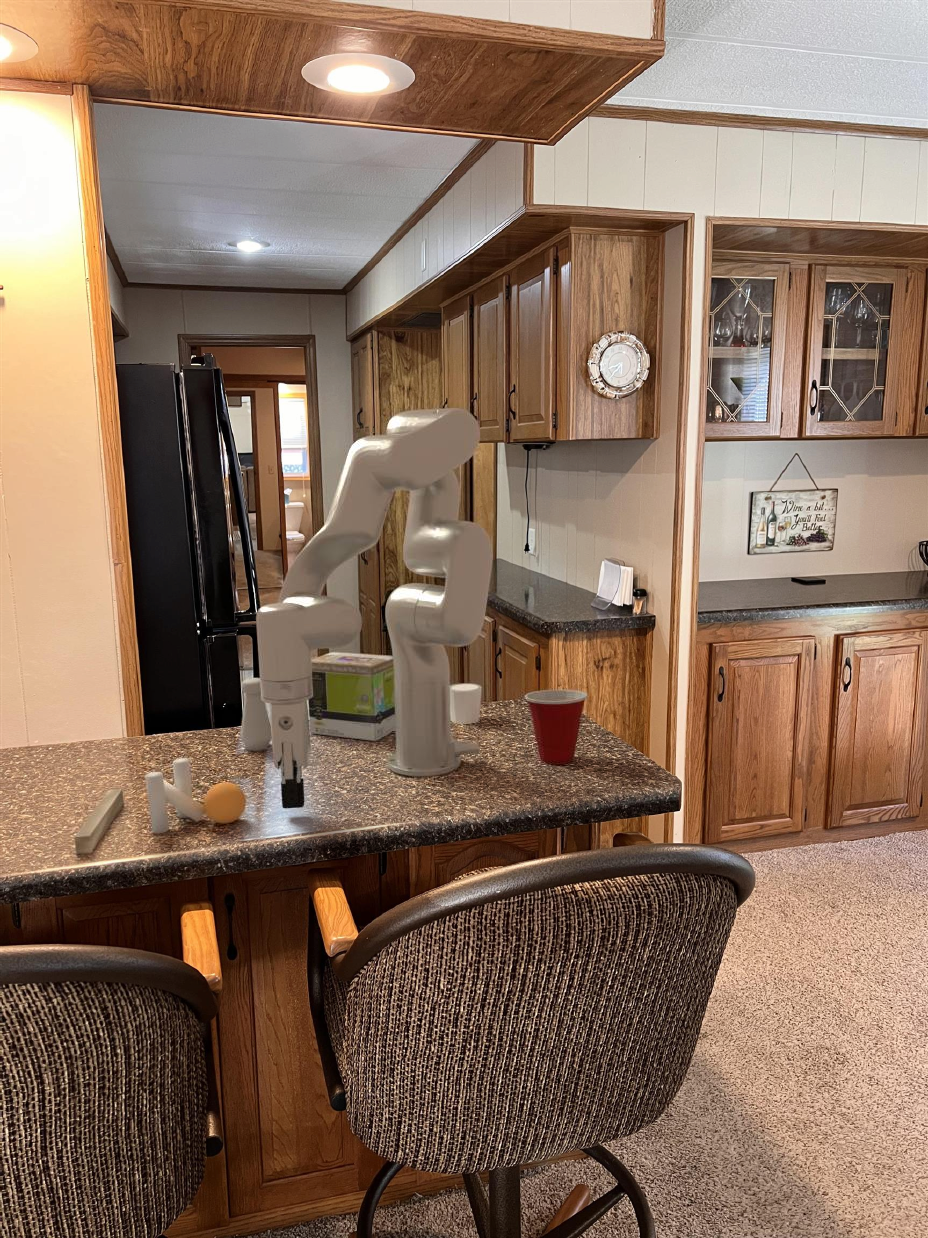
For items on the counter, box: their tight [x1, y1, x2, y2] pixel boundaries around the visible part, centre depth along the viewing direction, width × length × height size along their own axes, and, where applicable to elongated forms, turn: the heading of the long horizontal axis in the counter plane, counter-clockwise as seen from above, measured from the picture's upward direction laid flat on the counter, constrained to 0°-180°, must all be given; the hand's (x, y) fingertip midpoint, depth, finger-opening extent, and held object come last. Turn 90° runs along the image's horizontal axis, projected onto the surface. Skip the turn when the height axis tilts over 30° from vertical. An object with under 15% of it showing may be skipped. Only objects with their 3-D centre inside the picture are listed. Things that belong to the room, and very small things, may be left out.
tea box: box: [307, 651, 396, 742], centre depth 178 cm, size 15×10×15 cm
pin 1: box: [145, 771, 170, 835], centre depth 133 cm, size 2×2×8 cm
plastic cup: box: [524, 689, 589, 765], centre depth 160 cm, size 11×11×12 cm
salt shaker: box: [240, 677, 272, 752], centre depth 170 cm, size 6×6×13 cm
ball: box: [203, 781, 247, 825], centre depth 136 cm, size 6×6×6 cm
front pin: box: [163, 778, 206, 823], centre depth 136 cm, size 2×2×8 cm
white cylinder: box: [450, 682, 483, 725], centre depth 184 cm, size 7×7×7 cm
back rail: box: [74, 788, 125, 855], centre depth 136 cm, size 2×18×2 cm, turn 6°
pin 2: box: [172, 757, 193, 819], centre depth 139 cm, size 2×2×8 cm
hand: (293, 805), depth 138 cm, fingers closed
